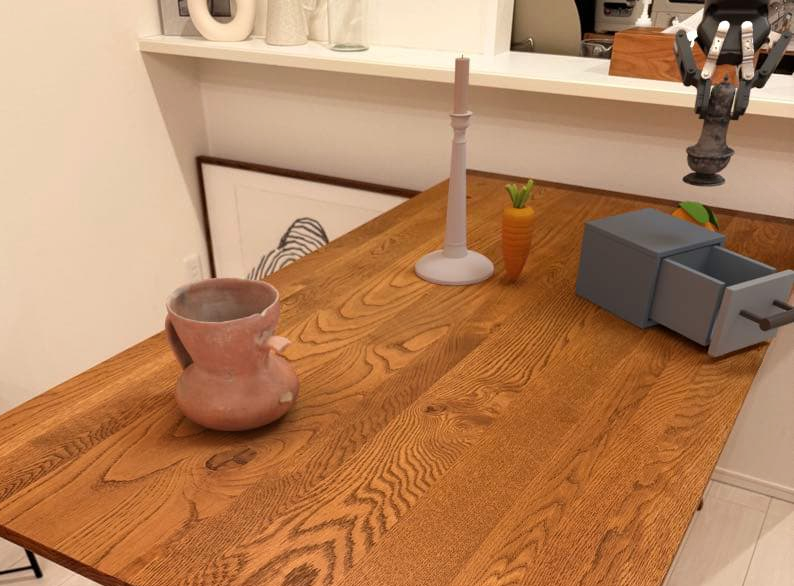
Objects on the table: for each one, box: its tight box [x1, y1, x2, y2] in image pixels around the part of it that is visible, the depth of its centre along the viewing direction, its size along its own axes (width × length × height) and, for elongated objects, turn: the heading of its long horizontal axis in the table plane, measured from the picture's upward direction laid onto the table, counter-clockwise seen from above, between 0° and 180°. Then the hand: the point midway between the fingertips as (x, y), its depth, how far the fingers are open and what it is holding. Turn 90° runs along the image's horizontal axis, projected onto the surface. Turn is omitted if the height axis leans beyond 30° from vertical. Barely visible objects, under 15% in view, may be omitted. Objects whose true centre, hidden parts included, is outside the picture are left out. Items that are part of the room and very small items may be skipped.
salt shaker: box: [681, 73, 737, 188], centre depth 95 cm, size 6×6×12 cm
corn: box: [671, 200, 720, 232], centre depth 125 cm, size 7×8×20 cm
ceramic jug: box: [164, 277, 300, 432], centre depth 87 cm, size 18×14×14 cm
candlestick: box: [414, 54, 495, 286], centre depth 115 cm, size 13×13×30 cm
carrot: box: [501, 179, 536, 283], centre depth 116 cm, size 5×5×15 cm
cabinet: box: [574, 207, 727, 330], centre depth 111 cm, size 15×13×11 cm
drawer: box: [648, 244, 794, 358], centre depth 100 cm, size 18×11×9 cm, turn 29°
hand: (719, 115), depth 92 cm, fingers closed on salt shaker, 3 cm apart
